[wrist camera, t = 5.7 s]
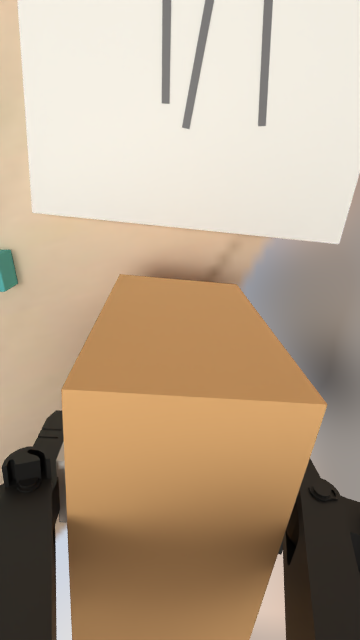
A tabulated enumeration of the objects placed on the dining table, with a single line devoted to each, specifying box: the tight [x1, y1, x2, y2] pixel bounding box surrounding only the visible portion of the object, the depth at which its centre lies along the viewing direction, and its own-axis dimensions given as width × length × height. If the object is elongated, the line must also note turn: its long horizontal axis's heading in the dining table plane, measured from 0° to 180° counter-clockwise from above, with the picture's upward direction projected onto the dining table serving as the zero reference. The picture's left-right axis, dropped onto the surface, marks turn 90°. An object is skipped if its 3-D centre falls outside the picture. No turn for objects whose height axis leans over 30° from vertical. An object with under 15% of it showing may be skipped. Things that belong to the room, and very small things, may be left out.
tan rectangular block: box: [61, 274, 327, 640], centre depth 14 cm, size 10×6×10 cm, turn 174°
